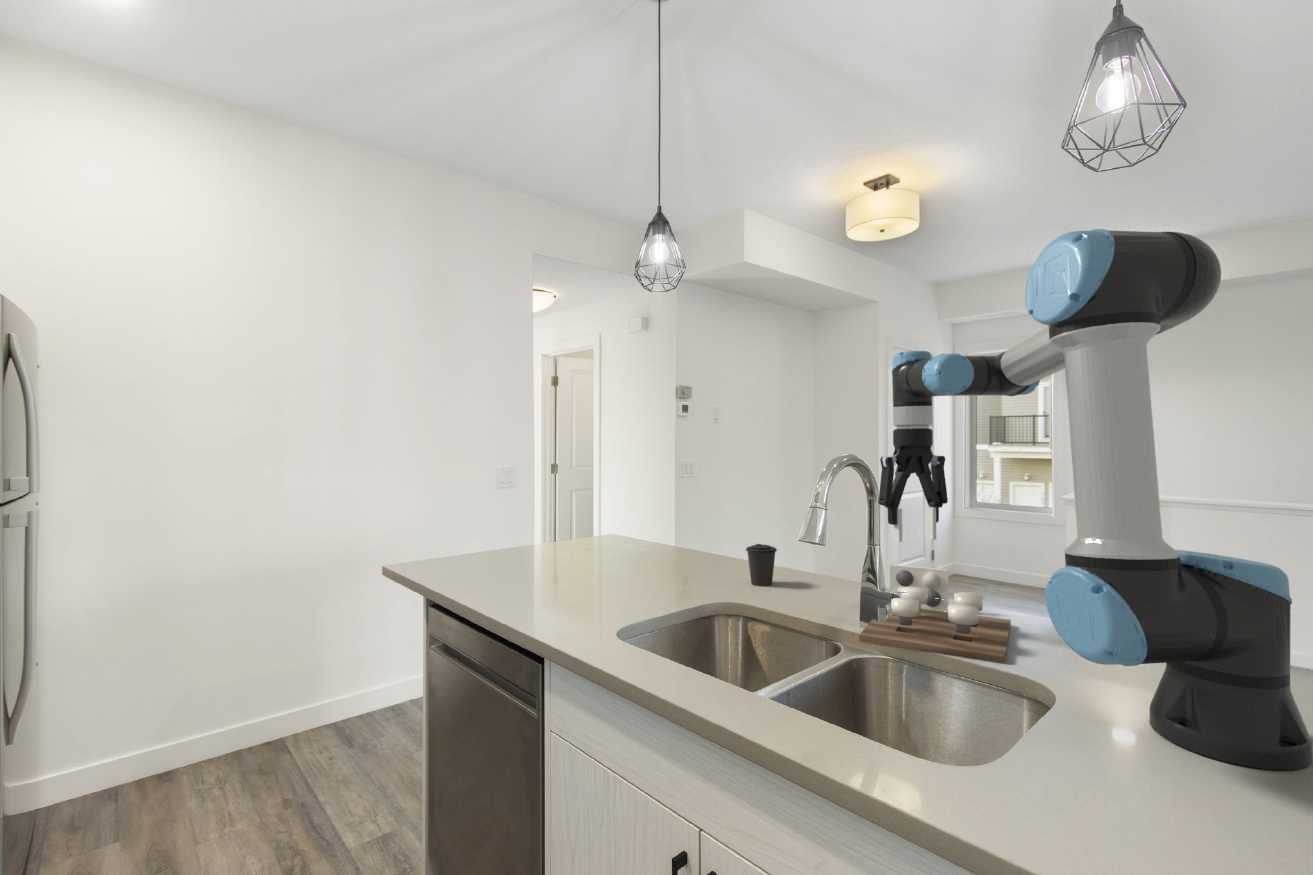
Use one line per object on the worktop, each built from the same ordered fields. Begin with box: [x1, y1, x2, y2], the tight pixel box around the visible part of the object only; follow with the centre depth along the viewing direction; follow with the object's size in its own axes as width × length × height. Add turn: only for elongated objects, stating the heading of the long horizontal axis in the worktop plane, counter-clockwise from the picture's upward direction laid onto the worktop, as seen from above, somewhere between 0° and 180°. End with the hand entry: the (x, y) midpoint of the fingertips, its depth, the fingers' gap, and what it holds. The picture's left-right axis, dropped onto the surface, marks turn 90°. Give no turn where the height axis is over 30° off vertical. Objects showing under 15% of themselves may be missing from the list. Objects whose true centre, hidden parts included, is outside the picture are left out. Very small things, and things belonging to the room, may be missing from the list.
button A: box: [948, 603, 979, 634], centre depth 116 cm, size 5×5×4 cm
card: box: [889, 563, 950, 612], centre depth 142 cm, size 4×12×9 cm, turn 59°
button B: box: [891, 597, 919, 626], centre depth 121 cm, size 5×5×4 cm
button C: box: [953, 591, 984, 612], centre depth 124 cm, size 5×5×4 cm
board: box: [858, 609, 1012, 665], centre depth 123 cm, size 24×24×1 cm
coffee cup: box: [745, 543, 778, 587], centre depth 165 cm, size 8×8×10 cm
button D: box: [901, 587, 927, 612], centre depth 130 cm, size 5×5×4 cm
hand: (913, 539), depth 130 cm, fingers open, 7 cm apart
